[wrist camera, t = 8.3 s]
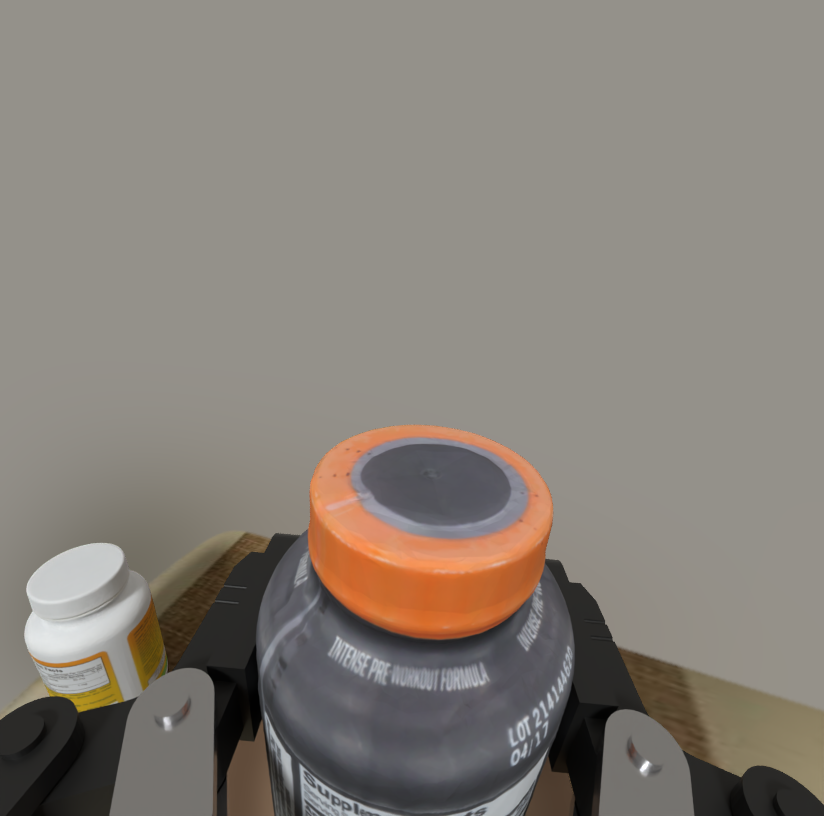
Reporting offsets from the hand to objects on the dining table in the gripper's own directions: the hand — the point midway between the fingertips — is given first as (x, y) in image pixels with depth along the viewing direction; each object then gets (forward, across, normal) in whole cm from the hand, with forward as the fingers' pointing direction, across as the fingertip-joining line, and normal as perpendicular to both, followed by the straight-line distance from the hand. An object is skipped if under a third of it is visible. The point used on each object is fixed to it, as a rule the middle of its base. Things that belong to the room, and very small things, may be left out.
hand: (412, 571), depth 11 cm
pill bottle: (-2, 0, +7) cm, 7 cm away
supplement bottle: (+7, +17, +19) cm, 26 cm away
